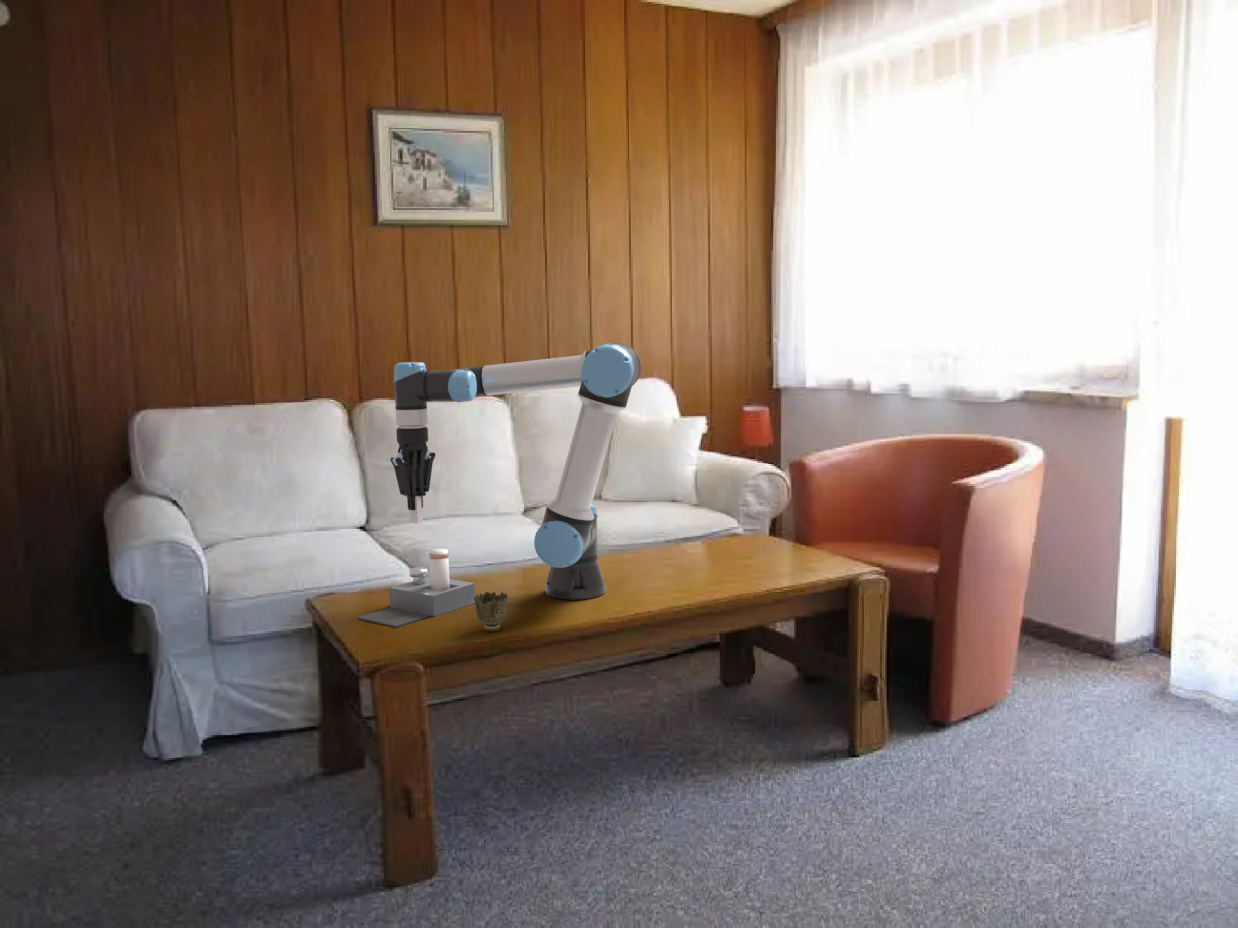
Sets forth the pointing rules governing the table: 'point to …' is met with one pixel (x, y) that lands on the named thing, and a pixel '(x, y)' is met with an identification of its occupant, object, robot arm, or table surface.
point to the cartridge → (439, 569)
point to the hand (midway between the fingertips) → (416, 522)
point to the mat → (393, 617)
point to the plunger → (418, 574)
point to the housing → (431, 597)
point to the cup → (491, 610)
